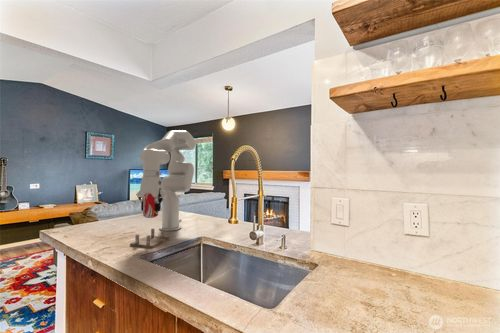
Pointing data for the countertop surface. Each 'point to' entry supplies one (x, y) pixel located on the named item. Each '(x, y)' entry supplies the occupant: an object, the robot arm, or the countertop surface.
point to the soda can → (149, 206)
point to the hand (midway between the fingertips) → (150, 210)
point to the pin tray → (150, 240)
